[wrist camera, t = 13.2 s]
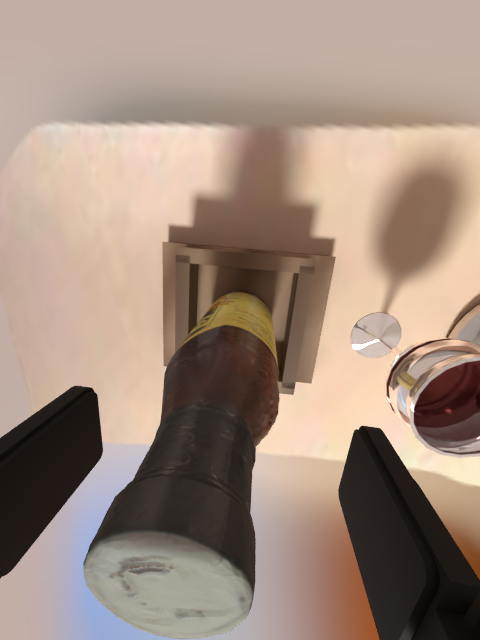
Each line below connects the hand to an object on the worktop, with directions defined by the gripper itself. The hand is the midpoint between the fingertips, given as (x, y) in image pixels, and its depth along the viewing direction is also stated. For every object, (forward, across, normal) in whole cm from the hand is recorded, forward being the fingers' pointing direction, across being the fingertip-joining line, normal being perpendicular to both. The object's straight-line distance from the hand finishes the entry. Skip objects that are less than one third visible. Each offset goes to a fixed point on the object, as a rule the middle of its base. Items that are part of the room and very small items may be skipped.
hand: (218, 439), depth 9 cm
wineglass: (+18, -13, +1) cm, 22 cm away
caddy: (+18, +1, 0) cm, 18 cm away
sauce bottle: (+16, +1, 0) cm, 16 cm away
